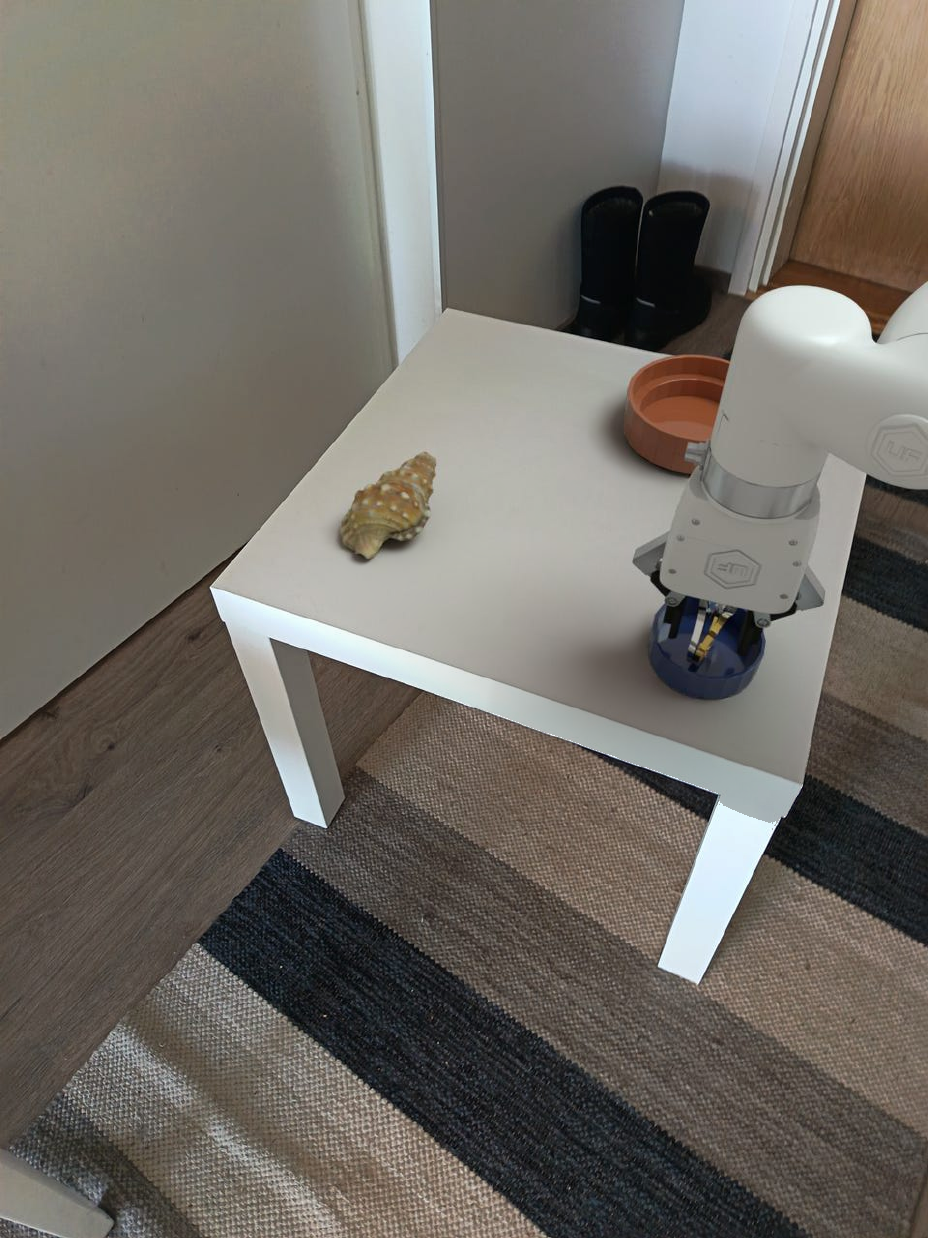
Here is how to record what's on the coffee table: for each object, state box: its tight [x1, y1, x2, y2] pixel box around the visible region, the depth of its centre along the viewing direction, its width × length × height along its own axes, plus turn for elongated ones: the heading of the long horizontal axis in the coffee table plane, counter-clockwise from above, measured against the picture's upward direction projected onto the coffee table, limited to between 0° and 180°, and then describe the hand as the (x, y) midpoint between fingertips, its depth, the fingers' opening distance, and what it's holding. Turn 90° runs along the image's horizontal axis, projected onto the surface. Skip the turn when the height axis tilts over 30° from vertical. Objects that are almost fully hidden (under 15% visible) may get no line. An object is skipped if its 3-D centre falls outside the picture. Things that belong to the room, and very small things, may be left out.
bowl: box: [622, 354, 730, 475], centre depth 93 cm, size 15×15×5 cm
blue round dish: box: [647, 595, 767, 701], centre depth 74 cm, size 9×9×3 cm
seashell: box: [339, 451, 437, 560], centre depth 85 cm, size 9×8×10 cm
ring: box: [686, 599, 738, 666], centre depth 72 cm, size 7×3×8 cm, turn 143°
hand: (708, 633), depth 73 cm, fingers open, 5 cm apart
